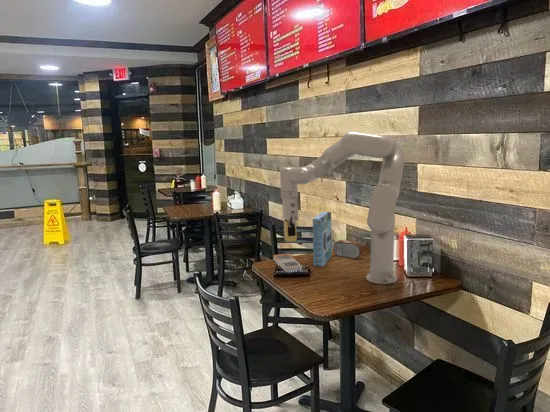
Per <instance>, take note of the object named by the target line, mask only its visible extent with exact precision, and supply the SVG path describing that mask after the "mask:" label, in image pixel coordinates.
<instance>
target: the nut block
mask: <svg viewBox="0 0 550 412" xmlns="http://www.w3.org/2000/svg"><path fill="white" fill-rule="evenodd" d="M290 224H291V222H290ZM288 227H289V223H288V220H285V219H284V220H283V234H284V235H283V236H284V238H283V239H284V241H286V242H287V243H288V242H297V238H298V237H297V236H298V235H297V234H298V233H297V222H296V223H295V233H296V235H295V236H288Z"/></svg>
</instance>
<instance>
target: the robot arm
mask: <svg viewBox="0 0 550 412" xmlns="http://www.w3.org/2000/svg"><path fill="white" fill-rule="evenodd" d="M355 155H359V156H362V157H370V158H376V159H382V164H381V169H380V173H379V174H380V175H379V179H378V182H377V185H375V187H374V188H373V190H372V193H371V196H370V197H371V198H370V203H369V208H368V212H367V217H366V220H367V221H366V222H367V223H366V224H367V227H368V229H370V242H369V243H370V245H369V246H370V247H369V248H370V249H369V250H370V251H369V253H370V254H369V256H370V257H369V263H370V265H369V273H368V274H366V276H365V277H366V278H365V279H366V280H367V281H368V282H369V283H372V284H378V285H391V284H394V283H396V282H397V281H398V277H397V276H396V275H395V274H394V259H395V258H394V257H395V255H394V251H395V249H394V247H395V230H396V229H395V228H396V227H395V226H396V215H395V208H396V205H397V199H399V196H400V191H401V190H400V189H401V185H402V184H401V183H402V178H403V172H404V167H405V166H404V165H405V154H404V150H403V148H402V147H401V145H400V144H399V142H397V141H396V139H394V138H392V137H391V136H388V135H377V134H369V133H362V132H360V131H357V130H353V131H352V130H351V131H348V132H347V131H346V133H345V134H343V136H342V137H341V139H339V140H338V141H336V142H334V143H333V144H331V145H330V146H328V147H327V148H326V149H325V150H324V151H323V153H322V154H321V155H320V156H319V157H318V158H316V159H315V160H313V161H312V162H311V163H309V164H307V165H305V166H304V165H303V166H301V167H295V166H283V167H281V168H280V170H279V174H280V176H279V177H280V178H279V180H280V199H282V217H283V219H284V220H288V223H289V227H288V236H295V235H296V233H297V232H296V233H295V223H296V224H297V221H299V205H298V192H299V191H298V185H307V184H310V183H312V182H314V181H316V180H317V179H319V178H321V177H322V176H324V175H326V174H327V173H328V172H329V171H331V170H332V169H335V168H336V167H337V166H339V165H341V164H342V163H344V162H345V161H346V160H348V159H350V158H351V157H353V156H355ZM290 222H291V224H290Z"/></svg>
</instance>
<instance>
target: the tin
mask: <svg viewBox="0 0 550 412" xmlns="http://www.w3.org/2000/svg"><path fill="white" fill-rule="evenodd" d="M332 247H333V249H332V250H333V252H334V254H335V255H336V256H337V257H338V258H339V257H340V258H346V259H353V260H356V259H358V258H360V257H362V255H363V252H364V249H363V246H362V245H361V244H360V243H359V242H357V241H351V240H345V239H344V240H342V239H339V240H337V241H336V242H335V243H333V246H332Z"/></svg>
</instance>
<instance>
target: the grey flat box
mask: <svg viewBox="0 0 550 412" xmlns="http://www.w3.org/2000/svg"><path fill="white" fill-rule="evenodd" d="M272 258H273V262H275V264H276V265H277V266H278V267H279V266H280V267H281V268H282V269H283V270H284V271H285V272H288V271H295V270H302V271H303V266H302V264H300V263H299V262H298V261H297V260H296V259H295V258H294V257H293V256H292V255H291V254H290V253H281V254H273V255H272ZM280 267H279V268H280ZM281 268H280V269H281ZM282 269H281V270H282Z"/></svg>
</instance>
